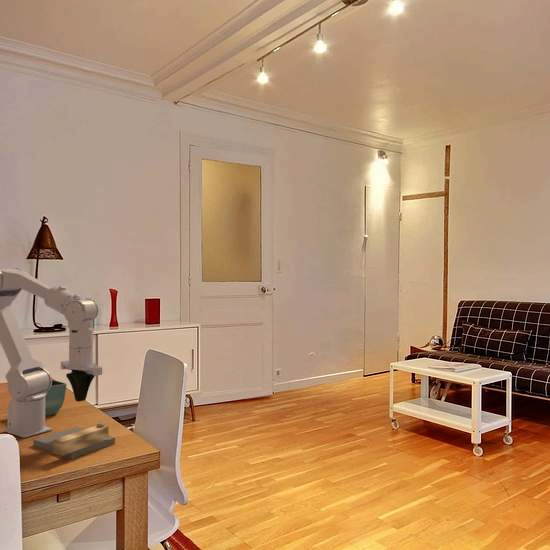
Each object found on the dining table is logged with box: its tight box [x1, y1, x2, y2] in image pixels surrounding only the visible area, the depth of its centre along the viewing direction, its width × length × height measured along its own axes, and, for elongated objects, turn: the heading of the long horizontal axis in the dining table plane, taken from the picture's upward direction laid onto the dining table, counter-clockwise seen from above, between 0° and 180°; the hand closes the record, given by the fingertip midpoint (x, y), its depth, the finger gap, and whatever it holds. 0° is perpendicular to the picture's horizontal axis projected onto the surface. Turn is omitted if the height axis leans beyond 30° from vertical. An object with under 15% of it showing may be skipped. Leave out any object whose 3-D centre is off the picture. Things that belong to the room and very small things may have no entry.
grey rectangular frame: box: [32, 426, 116, 460], centre depth 123 cm, size 15×12×2 cm
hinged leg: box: [52, 422, 110, 457], centre depth 117 cm, size 13×3×4 cm, turn 151°
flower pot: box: [45, 379, 68, 417], centre depth 149 cm, size 9×9×9 cm
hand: (80, 400), depth 128 cm, fingers closed
